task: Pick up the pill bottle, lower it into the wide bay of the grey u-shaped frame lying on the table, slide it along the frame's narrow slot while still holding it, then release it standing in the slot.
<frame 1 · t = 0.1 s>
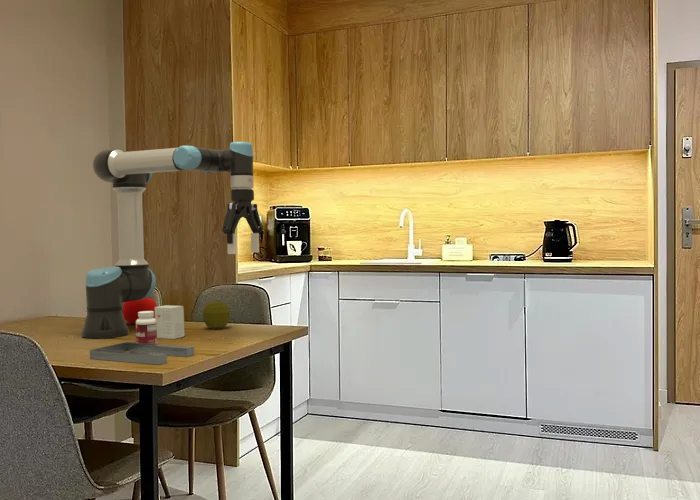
hand: (243, 253, 228), 28 cm above the table, fingers open, 13 cm apart
pill bottle: (146, 347, 212), on the table
grey u-shaped frame: (142, 356, 196), on the table
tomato: (140, 324, 266), on the table
small box: (170, 338, 231), on the table
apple: (216, 329, 250), on the table
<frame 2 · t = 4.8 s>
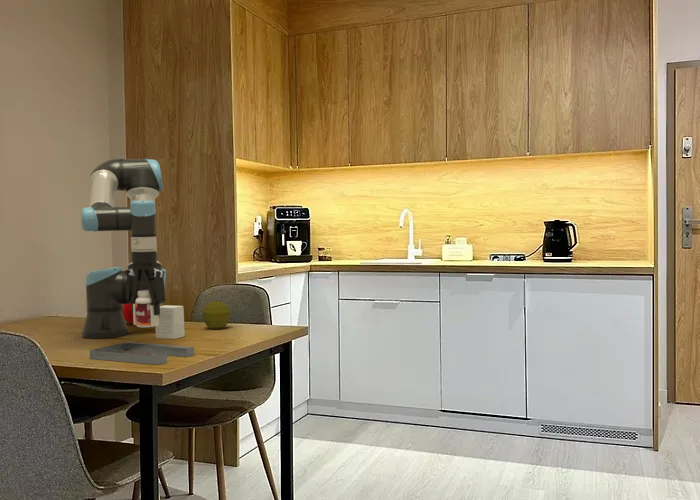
hand: (146, 324, 213), 7 cm above the table, fingers closed on pill bottle, 6 cm apart
pill bottle: (146, 326, 213), point 6 cm above the table, touching gripper
everything else where it was.
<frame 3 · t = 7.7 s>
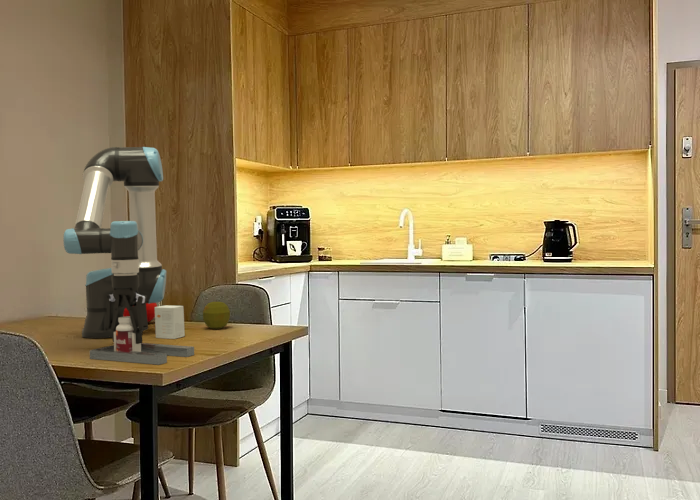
hand: (127, 353, 199), 0 cm above the table, fingers closed on pill bottle, 6 cm apart
pill bottle: (128, 355, 199), resting in grey u-shaped frame, touching gripper
everything else where it was.
when the fingers open (1 cm above the table, at t = 11.2 s): pill bottle stays where it is, resting in grey u-shaped frame.
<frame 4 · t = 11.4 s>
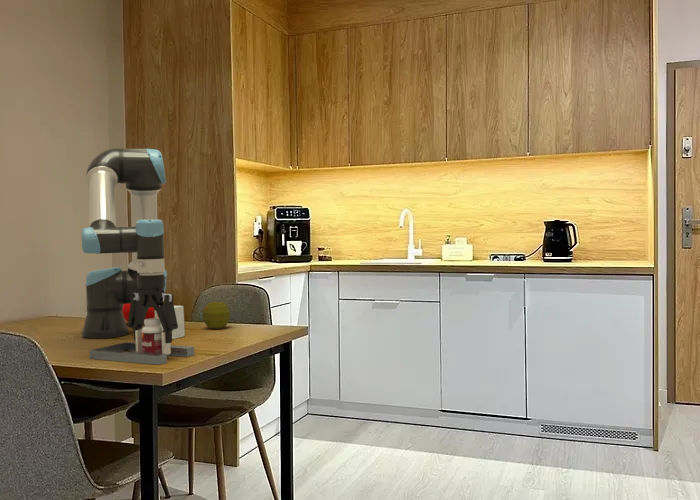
hand: (153, 353, 194), 1 cm above the table, fingers open, 9 cm apart
pill bottle: (153, 358, 195), resting in grey u-shaped frame
everything else where it was.
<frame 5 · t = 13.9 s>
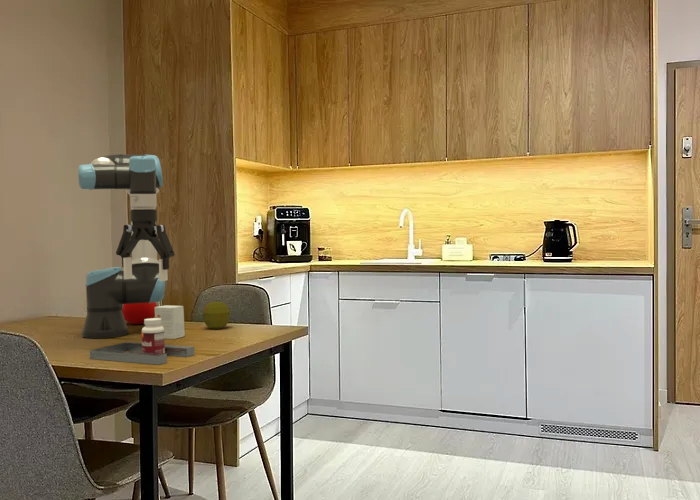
hand: (145, 279, 205), 21 cm above the table, fingers open, 13 cm apart
nothing on the table moved.
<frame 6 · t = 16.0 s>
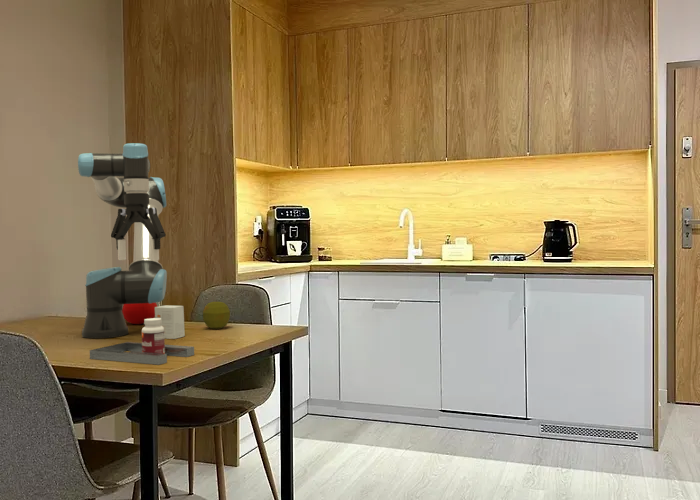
hand: (138, 260, 217), 27 cm above the table, fingers open, 13 cm apart
nothing on the table moved.
at the end: pill bottle inside the target area on the grey u-shaped frame (3.0 cm from its centre), point 0.0 cm above the grey u-shaped frame's base; pill bottle tilted 0°; the gripper is holding nothing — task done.
